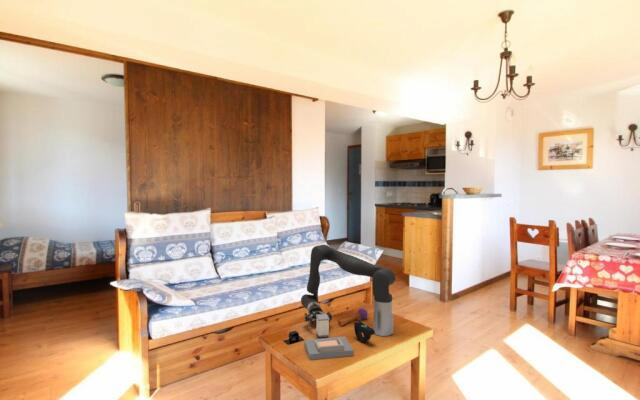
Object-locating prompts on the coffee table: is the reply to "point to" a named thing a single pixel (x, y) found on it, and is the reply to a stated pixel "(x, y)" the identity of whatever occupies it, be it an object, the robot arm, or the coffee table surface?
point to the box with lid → (322, 325)
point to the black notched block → (293, 338)
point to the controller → (363, 331)
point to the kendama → (354, 317)
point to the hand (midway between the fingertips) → (320, 321)
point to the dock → (328, 348)
